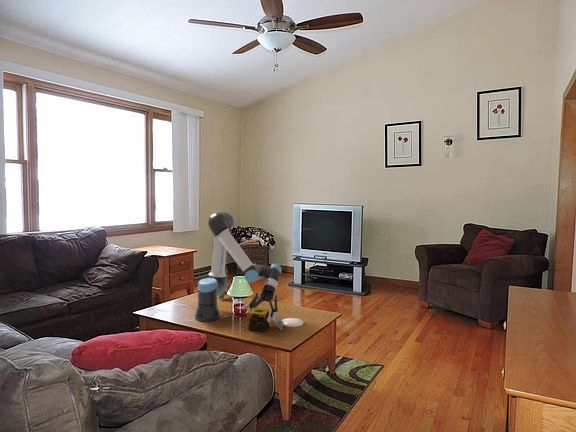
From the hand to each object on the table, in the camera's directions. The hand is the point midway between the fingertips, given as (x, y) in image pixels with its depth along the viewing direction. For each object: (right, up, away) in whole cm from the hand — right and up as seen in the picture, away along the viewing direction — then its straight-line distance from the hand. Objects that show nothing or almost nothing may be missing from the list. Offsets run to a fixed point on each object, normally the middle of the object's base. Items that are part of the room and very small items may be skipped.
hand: (259, 320), depth 230 cm
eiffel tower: (-28, 0, +57) cm, 64 cm away
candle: (0, -4, 0) cm, 5 cm away
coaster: (+19, -4, +10) cm, 22 cm away
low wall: (+11, -4, +6) cm, 13 cm away
